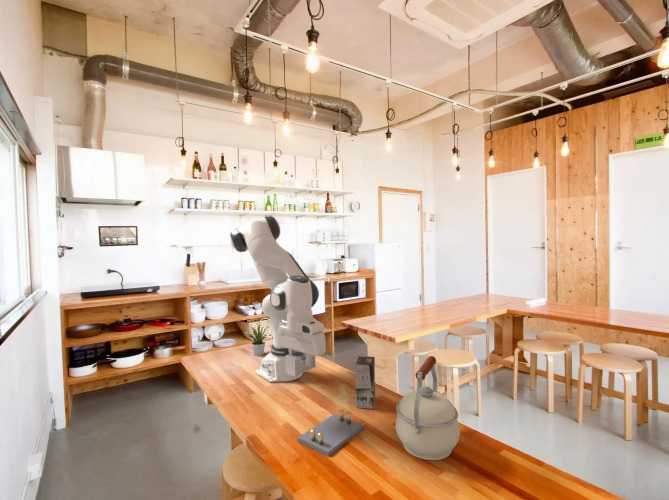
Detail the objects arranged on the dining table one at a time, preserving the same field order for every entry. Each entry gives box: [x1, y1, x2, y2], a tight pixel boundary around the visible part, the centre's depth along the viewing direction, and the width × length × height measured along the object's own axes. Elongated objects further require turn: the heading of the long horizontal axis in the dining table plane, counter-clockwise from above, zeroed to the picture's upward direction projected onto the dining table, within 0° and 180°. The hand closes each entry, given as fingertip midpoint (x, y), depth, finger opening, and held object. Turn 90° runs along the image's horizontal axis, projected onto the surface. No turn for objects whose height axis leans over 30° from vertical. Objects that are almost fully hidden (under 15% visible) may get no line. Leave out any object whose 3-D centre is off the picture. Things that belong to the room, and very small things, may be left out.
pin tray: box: [297, 409, 365, 457], centre depth 110 cm, size 12×18×4 cm, turn 141°
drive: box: [285, 351, 317, 376], centre depth 120 cm, size 4×10×6 cm, turn 141°
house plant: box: [244, 323, 272, 357], centre depth 187 cm, size 14×14×16 cm
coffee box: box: [355, 356, 376, 410], centre depth 130 cm, size 9×6×16 cm
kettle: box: [394, 355, 461, 461], centre depth 104 cm, size 25×18×25 cm
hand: (300, 363), depth 120 cm, fingers closed on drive, 4 cm apart
